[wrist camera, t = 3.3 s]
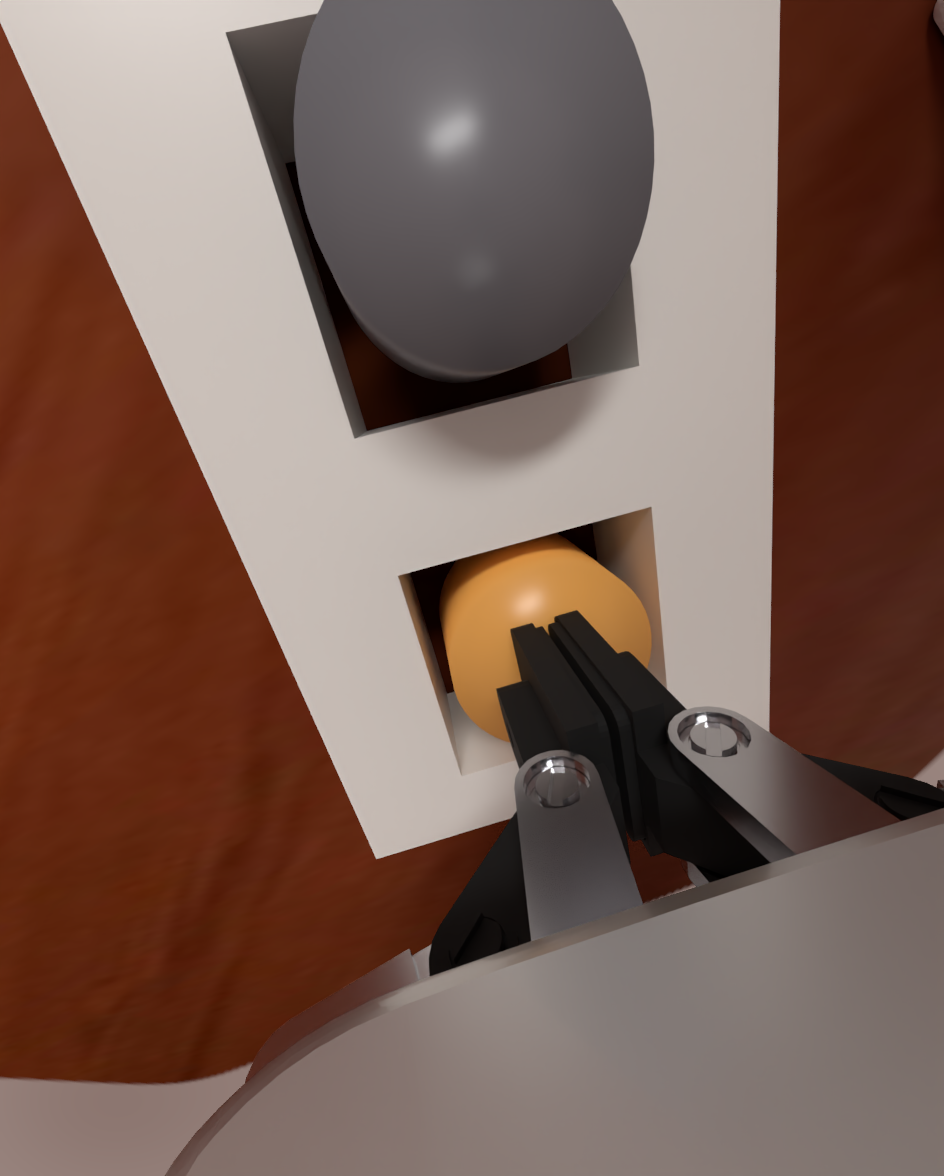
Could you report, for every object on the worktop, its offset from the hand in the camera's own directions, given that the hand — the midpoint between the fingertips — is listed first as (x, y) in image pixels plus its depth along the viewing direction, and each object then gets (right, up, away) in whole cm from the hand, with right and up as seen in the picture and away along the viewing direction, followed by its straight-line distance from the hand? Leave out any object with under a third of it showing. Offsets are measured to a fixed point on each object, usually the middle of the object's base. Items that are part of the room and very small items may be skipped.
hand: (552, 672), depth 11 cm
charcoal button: (-2, +9, -2) cm, 9 cm away
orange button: (-1, +2, +3) cm, 4 cm away
